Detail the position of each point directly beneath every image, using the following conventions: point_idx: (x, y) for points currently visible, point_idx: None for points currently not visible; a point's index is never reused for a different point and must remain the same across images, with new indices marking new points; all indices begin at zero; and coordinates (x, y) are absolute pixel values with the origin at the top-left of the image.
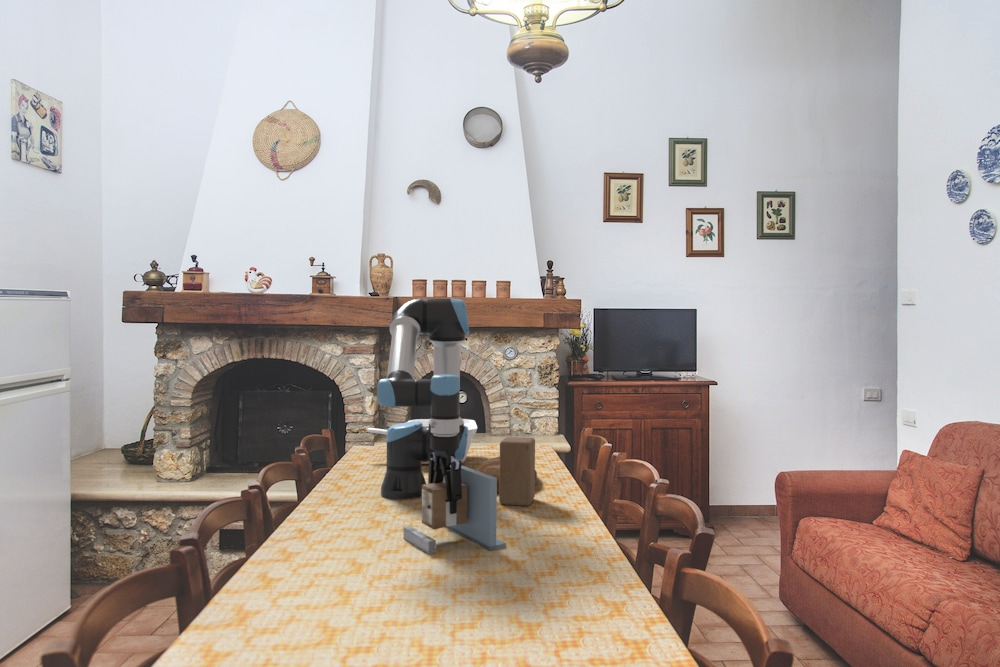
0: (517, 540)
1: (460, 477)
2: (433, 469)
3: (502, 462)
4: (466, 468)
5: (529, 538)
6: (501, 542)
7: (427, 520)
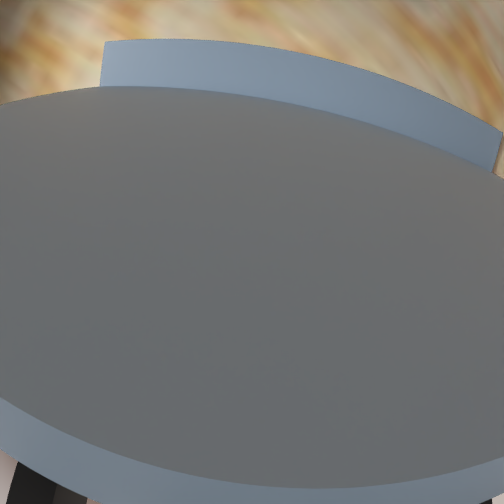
0: (481, 45)
1: (487, 500)
2: (77, 494)
3: None
4: (479, 494)
5: (489, 7)
6: (490, 136)
7: None
